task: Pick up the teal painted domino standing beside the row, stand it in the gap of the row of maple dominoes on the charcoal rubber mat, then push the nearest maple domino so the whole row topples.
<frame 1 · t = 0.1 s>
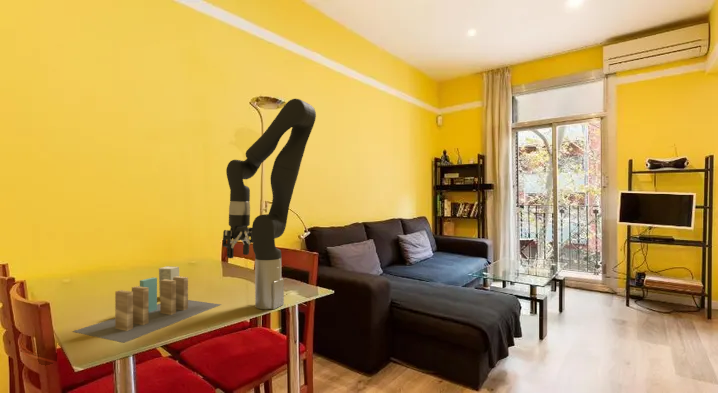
hand: (238, 256, 132), 17 cm above the table, tool pointing down, fingers open, 8 cm apart
domino 4: (140, 323, 109), resting on mat
domino 5: (124, 328, 104), resting on mat
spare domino: (148, 311, 120), resting on mat
mat: (155, 317, 114), on the table
domino 2: (168, 313, 118), resting on mat
domino 1: (180, 308, 123), resting on mat
skincare box: (169, 298, 137), on the table
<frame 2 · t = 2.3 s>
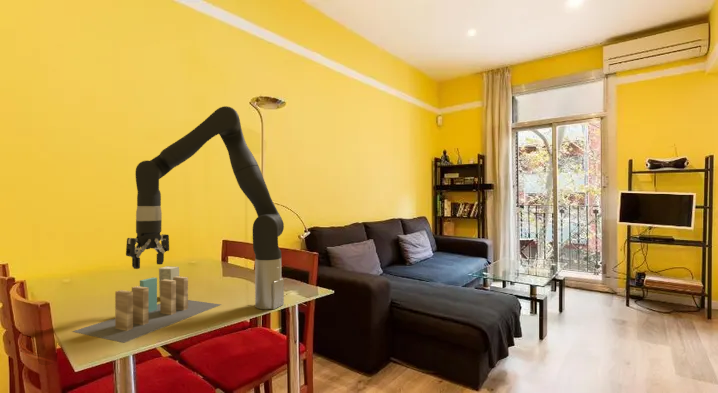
hand: (148, 266, 120), 16 cm above the table, tool pointing down, fingers open, 8 cm apart
nothing on the table moved.
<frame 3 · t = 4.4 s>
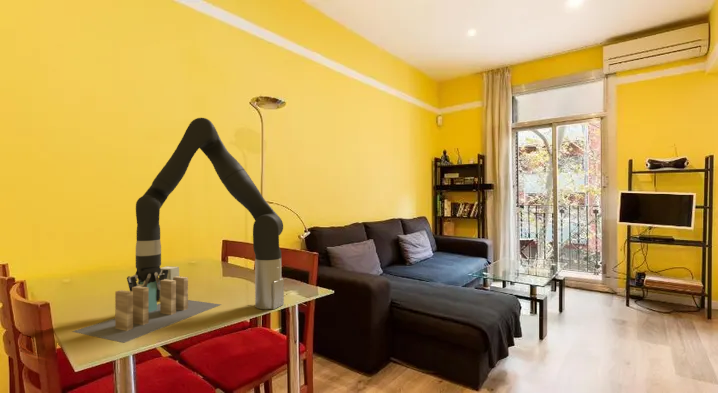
hand: (148, 302, 120), 3 cm above the table, tool pointing down, fingers closed on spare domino, 5 cm apart
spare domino: (148, 311, 120), resting on mat, touching gripper
everything else where it was.
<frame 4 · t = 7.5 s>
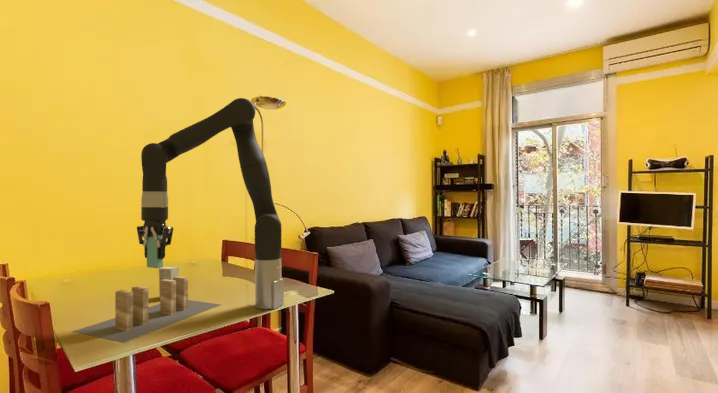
hand: (154, 258, 113), 20 cm above the table, tool pointing down, fingers closed on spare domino, 5 cm apart
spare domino: (154, 267, 113), point 17 cm above the table, touching gripper
everything else where it was.
when the fingers open (5 cm above the table, at t = 10.9 s): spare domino drops 1 cm, resting on mat.
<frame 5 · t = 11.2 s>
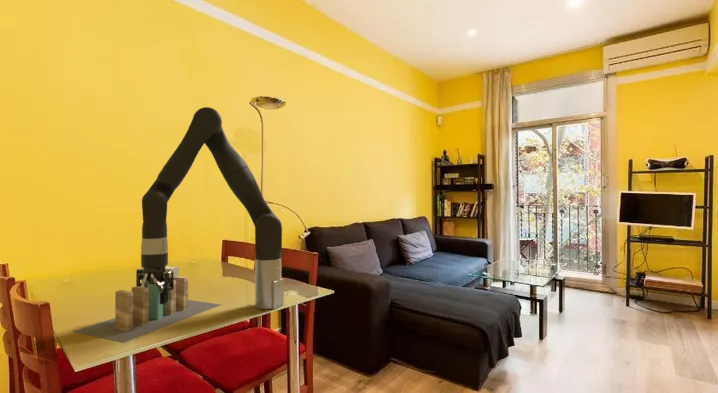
hand: (154, 302, 113), 5 cm above the table, tool pointing down, fingers open, 7 cm apart
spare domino: (154, 317, 113), resting on mat
everything else where it was.
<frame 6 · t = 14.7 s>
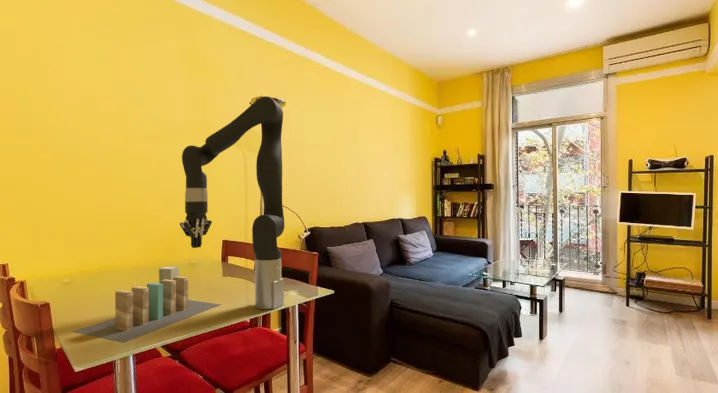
hand: (196, 247, 129), 21 cm above the table, tool pointing down, fingers closed
nothing on the table moved.
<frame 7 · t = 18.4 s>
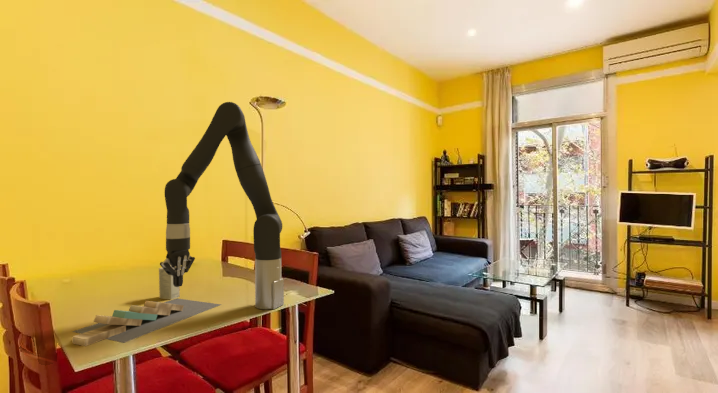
hand: (178, 286, 122), 9 cm above the table, tool pointing down, fingers closed
domino 4: (135, 321, 107), point 1 cm above the table, tilted 69°, touching domino 5, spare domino
domino 5: (119, 327, 103), point 1 cm above the table, tilted 90°, touching domino 4, mat
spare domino: (151, 316, 112), point 1 cm above the table, tilted 69°, touching domino 2, domino 4, mat
domino 2: (164, 311, 117), point 1 cm above the table, tilted 69°, touching domino 1, mat, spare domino
domino 1: (177, 307, 121), point 1 cm above the table, tilted 69°, touching domino 2, mat
everything else where it was.
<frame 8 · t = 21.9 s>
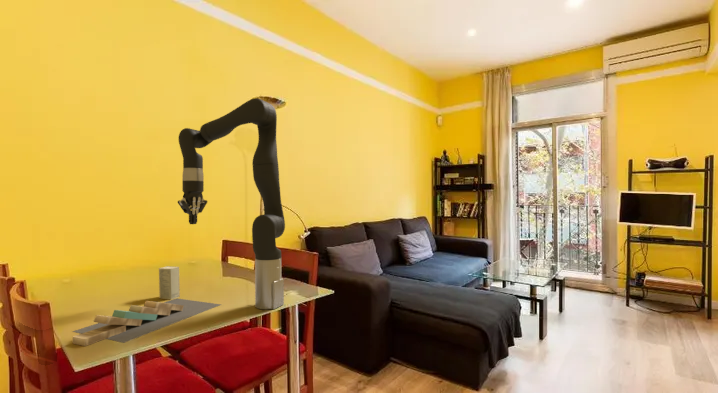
hand: (193, 224, 138), 29 cm above the table, tool pointing down, fingers closed
nothing on the table moved.
at the end: domino 5 tilted 90°; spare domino inside the target area (0.8 cm from its centre), point 1.2 cm above the table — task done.
